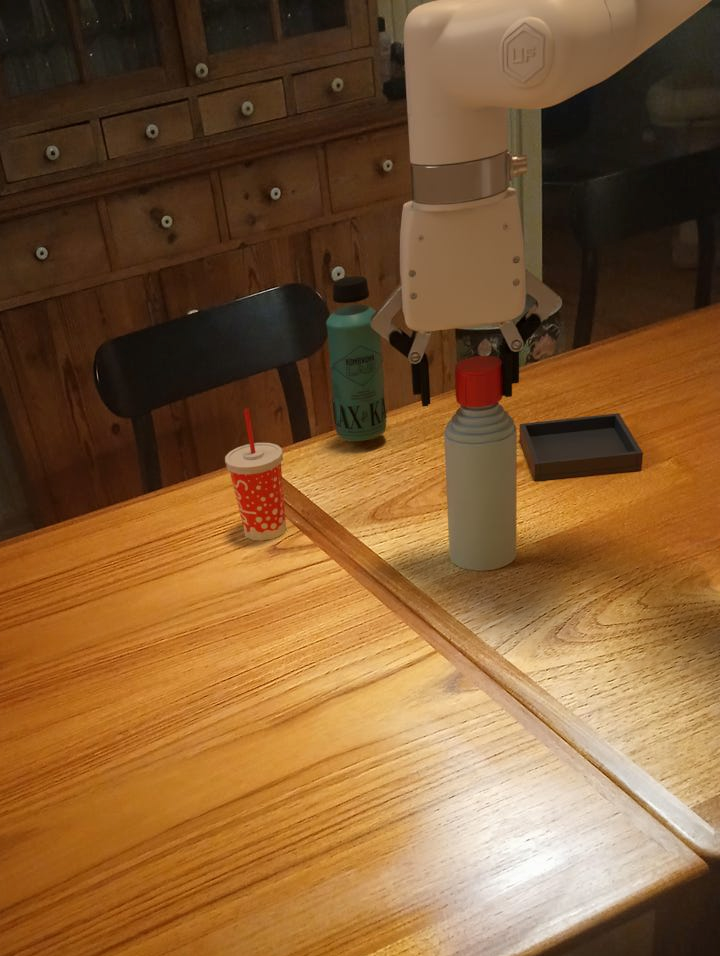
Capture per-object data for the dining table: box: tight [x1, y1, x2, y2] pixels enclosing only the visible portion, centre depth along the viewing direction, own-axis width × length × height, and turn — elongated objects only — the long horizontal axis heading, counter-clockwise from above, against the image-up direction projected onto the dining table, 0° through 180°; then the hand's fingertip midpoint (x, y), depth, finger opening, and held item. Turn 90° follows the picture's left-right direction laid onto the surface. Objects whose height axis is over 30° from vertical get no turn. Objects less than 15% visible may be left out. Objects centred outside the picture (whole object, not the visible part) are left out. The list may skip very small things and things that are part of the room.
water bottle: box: [443, 401, 518, 572], centre depth 91 cm, size 6×6×18 cm
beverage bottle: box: [325, 275, 388, 442], centre depth 118 cm, size 6×7×20 cm
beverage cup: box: [224, 407, 287, 542], centre depth 104 cm, size 6×6×14 cm
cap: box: [454, 355, 504, 407], centre depth 87 cm, size 4×4×3 cm
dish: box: [519, 412, 644, 482], centre depth 111 cm, size 11×11×2 cm
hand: (465, 394), depth 88 cm, fingers open, 6 cm apart
